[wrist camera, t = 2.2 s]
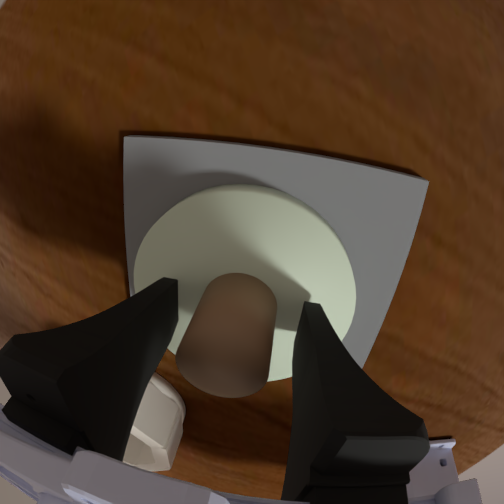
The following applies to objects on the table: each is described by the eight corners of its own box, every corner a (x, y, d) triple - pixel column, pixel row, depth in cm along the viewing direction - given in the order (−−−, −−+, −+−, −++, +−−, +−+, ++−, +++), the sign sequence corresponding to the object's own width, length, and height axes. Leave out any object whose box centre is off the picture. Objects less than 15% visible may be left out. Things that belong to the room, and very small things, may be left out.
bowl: (183, 373, 18) (161, 428, 14) (188, 437, 21) (173, 481, 17) (72, 340, 18) (40, 382, 14) (97, 408, 22) (76, 446, 18)
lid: (376, 205, 11) (417, 263, 7) (322, 375, 15) (324, 452, 11) (142, 171, 12) (72, 209, 8) (151, 344, 16) (116, 410, 12)
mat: (423, 177, 11) (429, 181, 11) (359, 363, 16) (360, 371, 15) (130, 135, 12) (123, 136, 11) (139, 326, 16) (135, 332, 16)
